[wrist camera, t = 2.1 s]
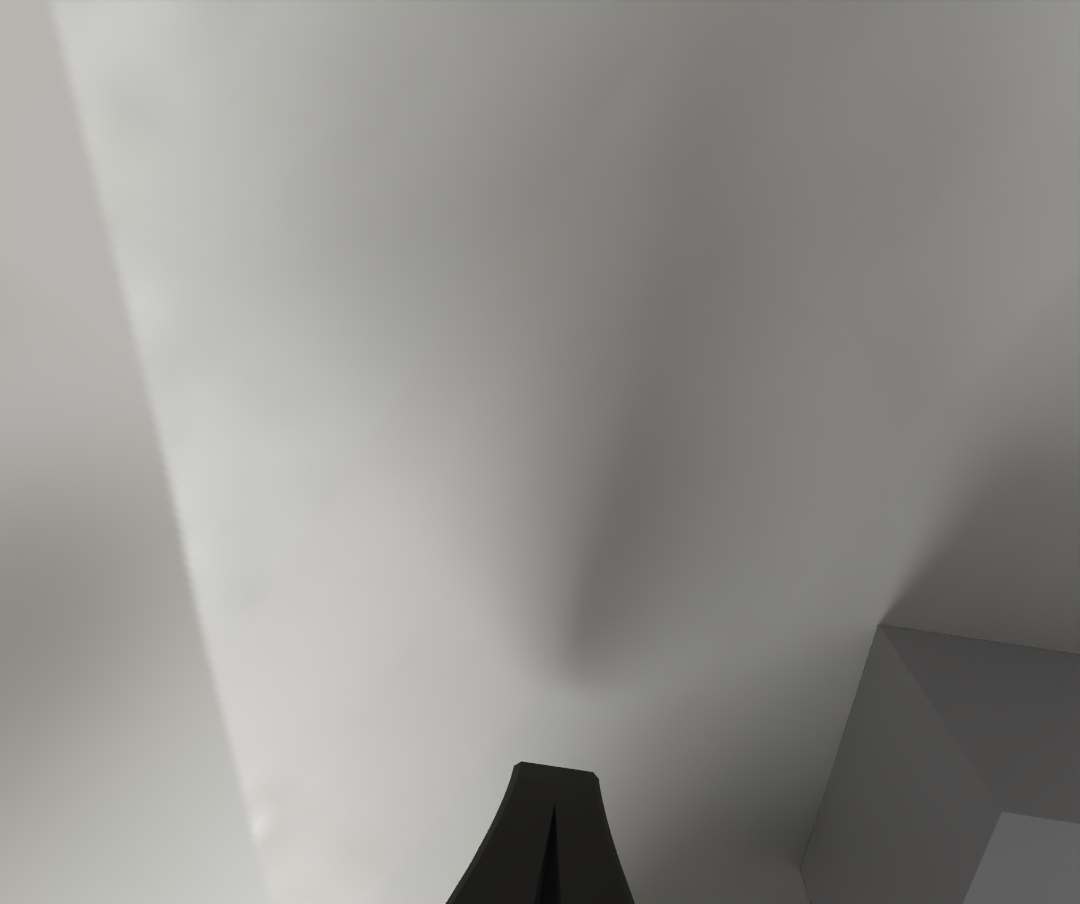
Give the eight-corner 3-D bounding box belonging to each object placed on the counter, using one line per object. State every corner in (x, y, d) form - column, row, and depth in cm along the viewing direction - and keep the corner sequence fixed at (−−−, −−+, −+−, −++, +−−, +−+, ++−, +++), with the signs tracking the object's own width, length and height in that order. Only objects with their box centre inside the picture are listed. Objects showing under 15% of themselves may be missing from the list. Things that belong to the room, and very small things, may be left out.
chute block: (1039, 904, 15) (1209, 1176, 11) (798, 864, 15) (872, 1116, 11) (1152, 662, 13) (1413, 878, 9) (875, 620, 13) (1002, 811, 9)
